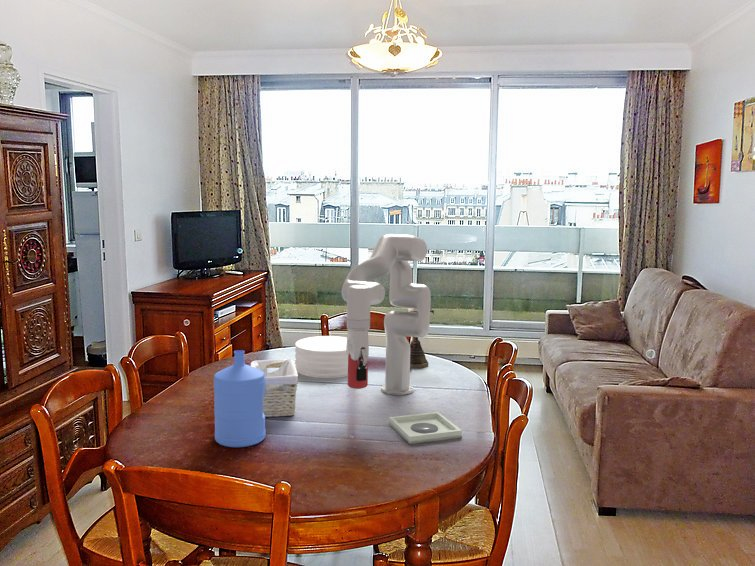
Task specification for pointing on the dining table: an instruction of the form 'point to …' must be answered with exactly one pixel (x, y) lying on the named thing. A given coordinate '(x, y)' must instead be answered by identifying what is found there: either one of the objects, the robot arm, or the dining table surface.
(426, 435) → the coaster tray
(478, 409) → the dining table surface
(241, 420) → the water jug
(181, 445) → the dining table surface
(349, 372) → the beer can
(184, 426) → the dining table surface
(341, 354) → the plate stack
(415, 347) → the bird statue
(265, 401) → the storage basket
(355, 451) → the dining table surface
